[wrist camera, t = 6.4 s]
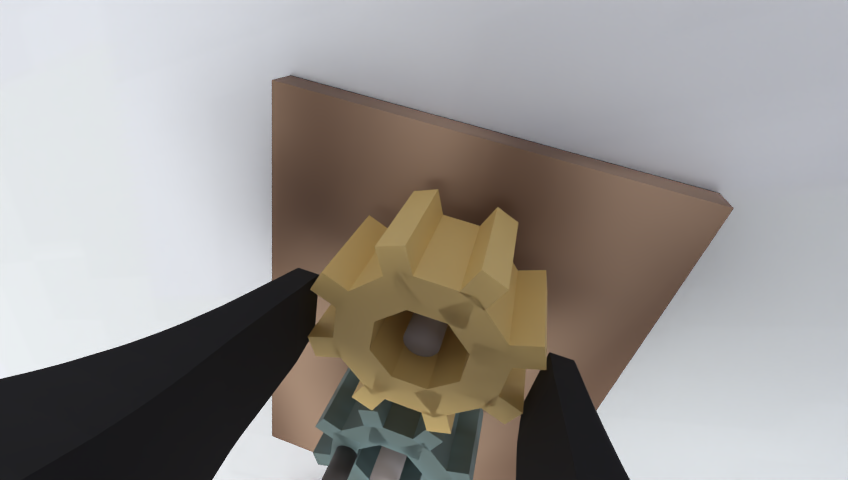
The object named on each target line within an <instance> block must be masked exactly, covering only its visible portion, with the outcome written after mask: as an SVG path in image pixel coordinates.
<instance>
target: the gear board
mask: <svg viewBox="0 0 848 480" xmlns="http://www.w3.org/2000/svg"><path fill="white" fill-rule="evenodd" d="M434 189H438V190H439V196H440V201H441V206H442V212H443V215H446V216H449V217H452V218H456V219H459V220H462V221H465V222H469V223H472V224H475V225H479V226H480V225H481V224H482V223H483V222H484V221H485V220H486V219H487V218H488V217H489V216H490V215H491V214H492V213H493V211H494V210H495V209H496V208H497V207H499V208H500V209H501V210H503V211H504V212H505V213H507V214H508V215H509V216H510V217H512V218H513V219H514V220H516V221H517V222H518V229H517V236H516V243H515V250H514V257H513V263H514V265H515V266H516V268H517V270H518V271H519V270H546V276H547V356H548V354H549V352H551V353H554V354H557V355H560V356H563V357H566V358H569V359H572V360H574V361H575V363H576V365H577V367H578V370H579V372H580V374H581V377H582V379H583V381H584V384H585V386H586V388H587V391H588V393H589V395H590V398H591V400H592V402H593V405H594V407H595V409H596V410H597V409H598V407H599V406H600V404H601V403H602V401H603V400H604V398H605V397H606V395H607V394H608V392H609V391H610V389H611V388H612V386H613V385H614V384H615V382H616V381H617V379H618V378H619V376H620V375H621V373H622V372H623V370H624V369H625V367H626V366H627V364H628V363H629V361H630V360H631V359H632V357H633V356H634V354H635V353H636V351H637V350H638V348H639V347H640V345H641V344H642V342H643V341H644V339H645V338H646V336H647V335H648V334H649V332H650V331H651V329H652V328H653V326H654V325H655V323H656V322H657V320H658V319H659V317H660V316H661V314H662V313H663V311H664V310H665V309H666V307H667V306H668V304H669V303H670V301H671V300H672V298H673V297H674V295H675V294H676V292H677V291H678V289H679V288H680V286H681V285H682V284H683V282H684V281H685V279H686V278H687V276H688V275H689V273H690V272H691V270H692V269H693V267H694V266H695V264H696V263H697V261H698V260H699V259H700V257H701V256H702V254H703V253H704V251H705V250H706V248H707V247H708V245H709V244H710V242H711V241H712V239H713V238H714V236H715V235H716V234H717V232H718V231H719V229H720V228H721V226H722V225H723V223H724V222H725V220H726V219H727V217H728V216H729V214H730V213H731V211H732V210H733V207H732V206H731V205H730V204H729V203H728V202H727V201H726V200H725V199H724V197H723V196H722V195H721V194H720V193H716V192H713V191H709V190H705V189H702V188H698V187H694V186H691V185H687V184H684V183H680V182H676V181H673V180H669V179H665V178H662V177H658V176H654V175H651V174H647V173H643V172H640V171H636V170H633V169H629V168H625V167H622V166H618V165H614V164H611V163H607V162H603V161H600V160H596V159H592V158H589V157H585V156H582V155H578V154H574V153H571V152H567V151H563V150H560V149H556V148H552V147H549V146H545V145H542V144H538V143H534V142H531V141H527V140H523V139H520V138H516V137H512V136H509V135H505V134H501V133H498V132H494V131H491V130H487V129H483V128H480V127H476V126H472V125H469V124H465V123H461V122H458V121H454V120H451V119H447V118H443V117H440V116H436V115H432V114H429V113H425V112H421V111H418V110H414V109H410V108H407V107H403V106H400V105H396V104H392V103H389V102H385V101H381V100H378V99H374V98H370V97H367V96H363V95H359V94H356V93H352V92H349V91H345V90H341V89H338V88H334V87H330V86H327V85H323V84H319V83H316V82H312V81H309V80H305V79H301V78H298V77H294V76H286V77H282V78H278V79H274V80H272V281H273V280H275V279H277V278H278V277H280V276H282V275H284V274H286V273H288V272H290V271H292V270H294V269H296V268H301V269H304V270H307V271H310V272H313V273H316V274H319V275H320V274H321V272H322V271H323V270H324V269H325V267H326V266H327V265H328V264H329V263H330V261H331V260H332V259H333V258H334V257H335V255H336V254H337V253H338V252H339V251H340V249H341V248H342V247H343V246H344V245H345V243H346V242H347V241H348V240H349V239H350V237H351V236H352V235H353V234H354V233H355V231H356V230H357V229H358V228H359V227H360V225H361V224H362V223H363V222H364V221H365V219H366V218H367V217H368V216H369V215H370V216H371V217H373V218H374V219H375V220H377V221H378V222H380V223H381V224H382V225H384V226H385V227H386V228H388V227H389V226H390V224H391V223H392V221H393V220H394V218H395V217H396V216H397V214H398V213H399V211H400V210H401V209H402V207H403V206H404V204H405V203H406V201H407V200H408V199H409V197H410V196H411V194H412V193H413V192H414V191H422V190H434ZM330 305H331V304H330V303H329V302H327V301H326V300H324V299H323V298H321V297H320V296H318V298H317V311H316V324H317V323H318V321H319V320H320V319H321V317H322V316H323V314H324V313H325V312H326V310H327V309H328V307H329V306H330ZM316 324H315V326H316ZM447 325H448V324H447V323H444V322H441V321H438V320H435V319H432V318H429V317H426V316H423V315H420V314H417V313H413V315H412V318H411V320H410V322H409V324H408V327H407V329H406V331H405V333H404V336H403V341H404V344H405V346H406V347H407V348H408V349H409V350H410V351H411V352H412V353H414V354H416V355H418V356H422V357H430V356H433V355H435V354H437V353H438V352H439V350H440V347H441V344H442V341H443V338H444V335H445V332H446V329H447ZM539 371H540V370H535V369H526V375H525V390H524V400H525V398H526V396H527V394H528V393H529V391H530V389H531V387H532V385H533V383H534V381H535V379H536V377H537V375H538V373H539ZM359 381H360V380H359V379H358V378H357V376H356V375H355V374H354V373H353V372H352V371H351V369H350V368H349V367H348V366H347V365H346V363H345V362H344V361H343V360H342V359H341V358H336V357H320V356H315V353H314V351H313V348H312V346H311V344H310V341H309V342H308V344H307V345H306V347H305V349H304V351H303V352H302V354H301V356H300V357H299V359H298V361H297V362H296V364H295V365H294V366H293V368H292V369H291V370H290V372H289V373H288V374H287V376H286V377H285V378H284V380H283V381H282V382H281V384H280V385H279V386H278V388H277V389H276V390H275V392H274V393H273V394H272V436H274V437H276V438H279V439H281V440H284V441H286V442H289V443H291V444H294V445H297V446H299V447H302V448H304V449H307V450H309V451H312V452H313V454H314V456H315V458H316V461H317V463H318V464H319V465H325V466H328V467H327V470H326V472H325V474H324V476H323V478H322V480H516V456H517V439H518V432H519V424H520V418H521V415H519V416H518V417H516V418H514V419H513V420H511V421H509V422H508V423H506V424H503V423H502V422H500V421H499V420H497V419H496V418H495V417H493V416H492V415H490V414H489V413H487V412H486V411H484V410H483V409H482V408H479V409H474V410H469V411H464V412H459V413H455V418H454V422H453V427H452V431H451V434H448V433H439V432H431V431H426V427H425V423H424V420H423V416H422V413H421V412H418V411H416V410H413V409H410V408H407V407H405V406H402V405H399V404H397V403H394V402H391V401H388V400H386V399H384V400H383V401H382V402H381V403H380V404H379V405H378V406H376V407H375V408H374V409H373V410H370V409H369V408H367V407H366V406H364V405H363V404H361V403H360V402H358V401H357V400H355V399H354V398H352V395H353V393H354V391H355V389H356V387H357V385H358V383H359Z"/></svg>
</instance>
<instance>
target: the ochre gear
mask: <svg viewBox="0 0 848 480" xmlns="http://www.w3.org/2000/svg"><path fill="white" fill-rule="evenodd" d="M517 229H518V222H517V221H516V220H514V219H513V218H512V217H510V216H509V215H508V214H507V213H505V212H504V211H503V210H501V209H500V208H499V207H497V208H496V209H495V210H494V211H493V213H492V214H491V215H490V216H489V217H488V218H487V219H486V220H485V221H484V222H483V223H482V224H481V225H480V226H479V225H475V224H472V223H469V222H465V221H462V220H459V219H456V218H452V217H449V216H446V215H443V212H442V206H441V201H440V196H439V190H438V189H434V190H422V191H414V192H413V193H412V194H411V196H410V197H409V199H408V200H407V201H406V203H405V204H404V206H403V207H402V209H401V210H400V211H399V213H398V214H397V216H396V217H395V218H394V220H393V221H392V223H391V224H390V226H389V227H388V228H386V227H385V226H384V225H382V224H381V223H380V222H378V221H377V220H375V219H374V218H373V217H371V216H370V215H369V216H368V217H367V218H366V219H365V221H364V222H363V223H362V224H361V225H360V227H359V228H358V229H357V230H356V231H355V233H354V234H353V235H352V236H351V237H350V239H349V240H348V241H347V242H346V243H345V245H344V246H343V247H342V248H341V249H340V251H339V252H338V253H337V254H336V255H335V257H334V258H333V259H332V260H331V261H330V263H329V264H328V265H327V266H326V267H325V269H324V270H323V271H322V272H321V274H320V275H319V277H318V278H317V280H316V281H315V283H314V284H313V286H312V287H311V289H310V290H311V291H313V292H314V293H316V294H317V295H318V296H320V297H321V298H323V299H324V300H326V301H327V302H329V303H330V304H331V305H330V306H329V307H328V309H327V310H326V312H325V313H324V314H323V316H322V317H321V319H320V320H319V321H318V323H317V324H316V326H315V327H314V328H313V330H312V331H311V333H310V334H309V335H308V339H309V341H310V344H311V346H312V348H313V351H314V353H315V356H320V357H336V358H341V359H342V360H343V361H344V362H345V363H346V365H347V366H348V367H349V368H350V369H351V371H352V372H353V373H354V374H355V375H356V376H357V378H358V379H359V380H360V381H359V383H358V385H357V387H356V389H355V391H354V393H353V395H352V398H354V399H355V400H357V401H358V402H360V403H361V404H363V405H364V406H366V407H367V408H369V409H370V410H373V409H374V408H375V407H376V406H378V405H379V404H380V403H381V402H382V401H383V400H384V399H386V400H388V401H391V402H394V403H397V404H399V405H402V406H405V407H407V408H410V409H413V410H416V411H418V412H421V413H422V416H423V420H424V423H425V427H426V431H431V432H439V433H448V434H451V431H452V427H453V422H454V418H455V413H459V412H464V411H469V410H474V409H479V408H482V409H483V410H484V411H486V412H487V413H489V414H490V415H492V416H493V417H495V418H496V419H497V420H499V421H500V422H502V423H503V424H506V423H508V422H509V421H511V420H513V419H514V418H516V417H518V416H519V415H521V414H523V405H524V390H525V375H526V369H535V370H546V369H547V276H546V270H519V271H518V270H517V268H516V266H515V265H514V263H513V257H514V250H515V243H516V236H517ZM413 313H417V314H420V315H423V316H426V317H429V318H432V319H435V320H438V321H441V322H444V323H447V324H448V325H447V329H446V332H445V335H444V338H443V341H442V344H441V347H440V350H439V352H438V353H437V354H435V355H433V356H430V357H422V356H418V355H416V354H414V353H412V352H411V351H410V350H409V349H408V348H407V347H406V346H405V344H404V341H403V336H404V333H405V331H406V329H407V327H408V324H409V322H410V320H411V318H412V315H413Z"/></svg>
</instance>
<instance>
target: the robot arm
mask: <svg viewBox="0 0 848 480" xmlns="http://www.w3.org/2000/svg"><path fill="white" fill-rule="evenodd" d="M318 277H319V274H316V273H313V272H310V271H307V270H304V269H301V268H296V269H294V270H292V271H290V272H288V273H286V274H284V275H282V276H280V277H278V278H277V279H275V280H273V281H271V282H269V283H267V284H265V285H263V286H261V287H259V288H257V289H255V290H253V291H251V292H249V293H247V294H245V295H243V296H241V297H239V298H237V299H235V300H233V301H231V302H229V303H227V304H225V305H223V306H220V307H218V308H216V309H214V310H211V311H209V312H207V313H205V314H202V315H200V316H198V317H196V318H193V319H191V320H189V321H186V322H184V323H182V324H179V325H177V326H175V327H172V328H169V329H167V330H164V331H162V332H159V333H156V334H154V335H151V336H148V337H145V338H143V339H140V340H137V341H134V342H131V343H128V344H125V345H122V346H119V347H116V348H113V349H110V350H106V351H103V352H100V353H96V354H93V355H90V356H86V357H83V358H80V359H76V360H73V361H70V362H66V363H63V364H59V365H55V366H51V367H48V368H44V369H40V370H36V371H32V372H28V373H24V374H20V375H15V376H11V377H7V378H3V379H0V480H212V479H213V478H214V476H215V474H216V473H217V471H218V470H219V468H220V466H221V465H222V463H223V462H224V460H225V458H226V457H227V455H228V454H229V452H230V451H231V449H232V448H233V446H234V445H235V443H236V442H237V441H238V439H239V438H240V436H241V435H242V434H243V432H244V431H245V430H246V428H247V427H248V426H249V424H250V423H251V422H252V420H253V419H254V418H255V417H256V415H257V414H258V413H259V411H260V410H261V409H262V407H263V406H264V405H265V403H266V402H267V401H268V399H269V398H270V397H271V396H272V394H273V393H274V392H275V390H276V389H277V388H278V386H279V385H280V384H281V382H282V381H283V380H284V378H285V377H286V376H287V374H288V373H289V372H290V370H291V369H292V368H293V366H294V365H295V364H296V362H297V361H298V359H299V357H300V356H301V354H302V352H303V351H304V349H305V347H306V345H307V344H308V342H309V339H308V335H309V334H310V333H311V331H312V330H313V328H314V327H315V324H316V311H317V298H318V295H317V294H316V293H314V292H313V291H311V290H310V289H311V287H312V286H313V284H314V283H315V281H316V280H317V278H318ZM516 480H630V479H629V477H628V475H627V473H626V472H625V470H624V468H623V466H622V464H621V462H620V460H619V458H618V456H617V454H616V452H615V450H614V448H613V446H612V443H611V441H610V439H609V437H608V435H607V433H606V431H605V429H604V427H603V425H602V422H601V420H600V418H599V416H598V414H597V411H596V409H595V407H594V405H593V402H592V400H591V398H590V395H589V393H588V391H587V388H586V386H585V384H584V381H583V379H582V377H581V374H580V372H579V370H578V367H577V365H576V363H575V361H574V360H572V359H569V358H566V357H563V356H560V355H557V354H554V353H551V352H549V354H548V356H547V369H546V370H540V371H539V373H538V375H537V377H536V379H535V381H534V383H533V385H532V387H531V389H530V391H529V393H528V394H527V396H526V398H525V400H524V405H523V414H521V418H520V424H519V432H518V439H517V456H516Z"/></svg>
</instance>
